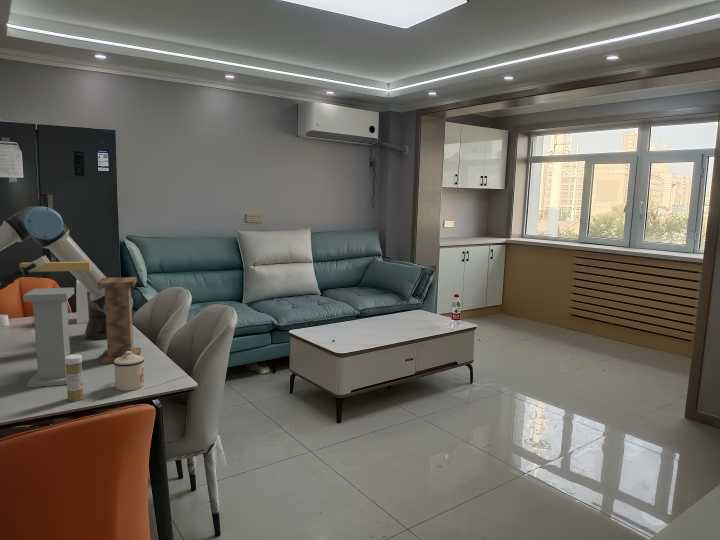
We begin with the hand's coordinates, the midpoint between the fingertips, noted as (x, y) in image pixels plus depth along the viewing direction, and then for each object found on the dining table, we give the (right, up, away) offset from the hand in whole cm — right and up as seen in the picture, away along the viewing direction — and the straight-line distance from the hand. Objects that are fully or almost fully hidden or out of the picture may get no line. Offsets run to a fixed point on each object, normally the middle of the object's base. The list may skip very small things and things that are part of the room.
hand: (45, 259), depth 187 cm
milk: (-20, -29, +70) cm, 78 cm away
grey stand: (+10, -41, -12) cm, 43 cm away
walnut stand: (+21, -37, +12) cm, 45 cm away
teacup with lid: (+37, -42, -16) cm, 58 cm away
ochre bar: (+3, -4, +2) cm, 5 cm away
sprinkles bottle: (+26, -43, -28) cm, 58 cm away
